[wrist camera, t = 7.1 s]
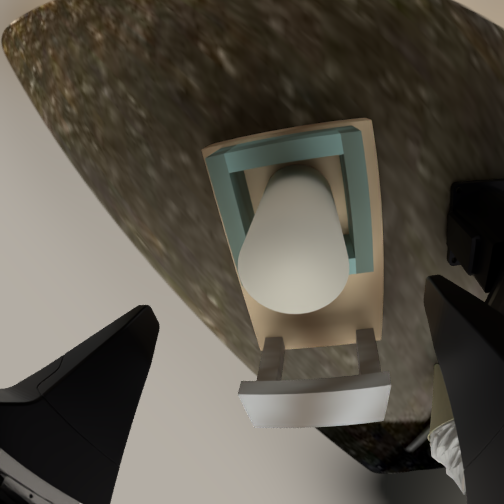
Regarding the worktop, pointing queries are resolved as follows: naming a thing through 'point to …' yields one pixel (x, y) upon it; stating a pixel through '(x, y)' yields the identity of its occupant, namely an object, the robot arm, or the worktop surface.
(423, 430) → the worktop surface
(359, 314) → the socket board
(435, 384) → the ice cream cone
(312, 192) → the peg
